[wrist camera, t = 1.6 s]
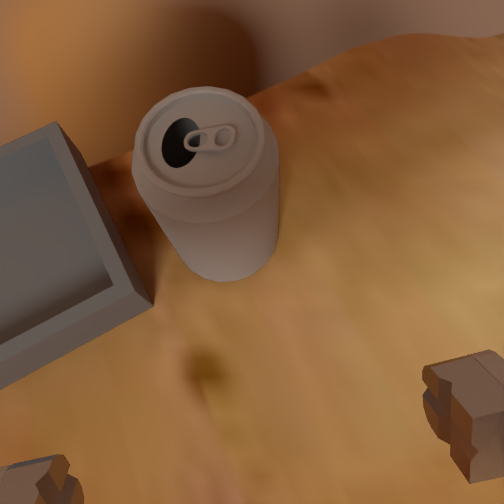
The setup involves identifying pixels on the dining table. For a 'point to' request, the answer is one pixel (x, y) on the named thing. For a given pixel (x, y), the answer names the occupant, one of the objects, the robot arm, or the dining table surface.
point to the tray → (57, 256)
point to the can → (211, 180)
